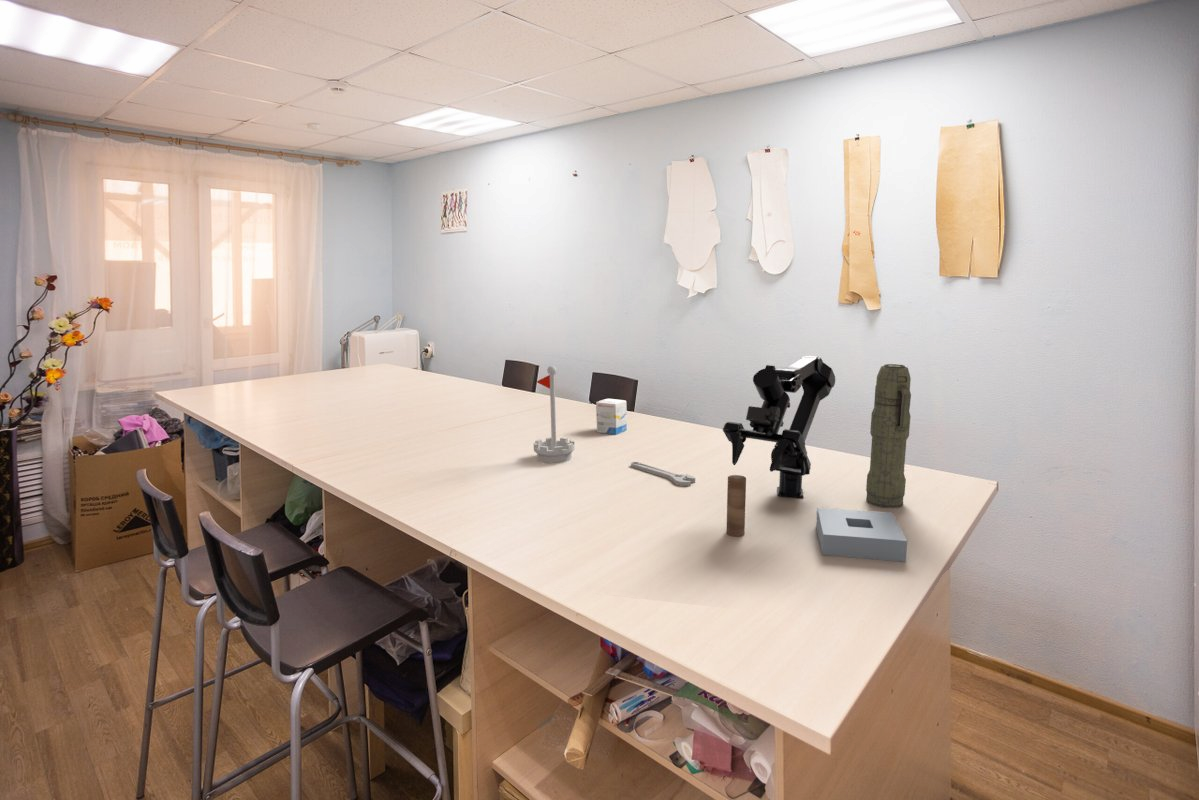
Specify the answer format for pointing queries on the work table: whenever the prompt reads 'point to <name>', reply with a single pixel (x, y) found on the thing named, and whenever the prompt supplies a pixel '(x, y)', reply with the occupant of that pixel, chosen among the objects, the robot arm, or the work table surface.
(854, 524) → the hole block
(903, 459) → the thermos
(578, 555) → the work table surface
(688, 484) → the adjustable wrench
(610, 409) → the ink box
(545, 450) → the flag stand
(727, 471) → the work table surface
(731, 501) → the pin
